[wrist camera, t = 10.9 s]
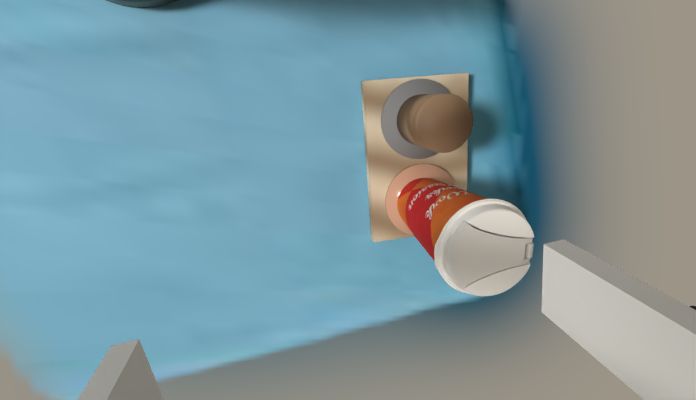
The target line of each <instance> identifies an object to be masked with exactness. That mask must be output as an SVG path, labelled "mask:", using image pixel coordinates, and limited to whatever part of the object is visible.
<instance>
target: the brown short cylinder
mask: <svg viewBox="0 0 696 400" xmlns="http://www.w3.org/2000/svg"><path fill="white" fill-rule="evenodd" d="M472 126H473V116H472V111H471V109H470V107H469V105H468V104H467V102H466V101H465V100H464V99H462V98H461V97H459V96H457V95H454V94H419V95H415V96H412V97H410V98H408V99H407V100H406V101H405V102H404V103H403V104H402V105H401V107H400V109H399V111H398V114H397V128H398V131H399V133H400V135H401V136H402V137H403V138H404V139H405V140H406V141H407V142H409V143H412V144H414V145H417V146H420V147H423V148H426V149H429V150H432V151H435V152H439V153H448V152H452V151H454V150H456V149H458V148H459V147H461V146H462V145H463V144H464V143H465V142H466V140H467V139H468V137H469V135H470V133H471V130H472Z"/></svg>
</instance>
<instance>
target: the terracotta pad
mask: <svg viewBox="0 0 696 400" xmlns="http://www.w3.org/2000/svg"><path fill="white" fill-rule="evenodd" d="M418 178H430V179H434V180H437V181H440V182H443V183H446V184H449V185H451V186H454V187H455V185H454V182H453V180H452V178H451V177H450V176H449V174H448V173H447V172H446V171H444V170H443V169H441V168H439V167H437V166H435V165H432V164H425V163H422V164H415V165H412V166H409V167H407V168H405V169H404V170H402V171H401V172H399V173H398V174H397V175H396V176H395V177H394V179H393V180H392V181H391V183H390V185H389V187H388V189H387V193H386V197H385V207H386V212H387V215H388V217H389V219H390V221H391V222H392V223H393V224H394V225H395V226H396V227H397V228H398V229H399V230H401V231H402V232H404V233H407V234H410V235H413V233H412V232H411V231H410V229H409V228H408V227H407V225H406V224H405V223H404V221H403V220H402V218H401V217H400V215H399V212H398V208H397V201H398V197H399V194H400V192H401V191H402V189H403V188H404V187H405V186H406V185H407V184H408V183H409V182H411V181H413V180H415V179H418Z"/></svg>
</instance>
